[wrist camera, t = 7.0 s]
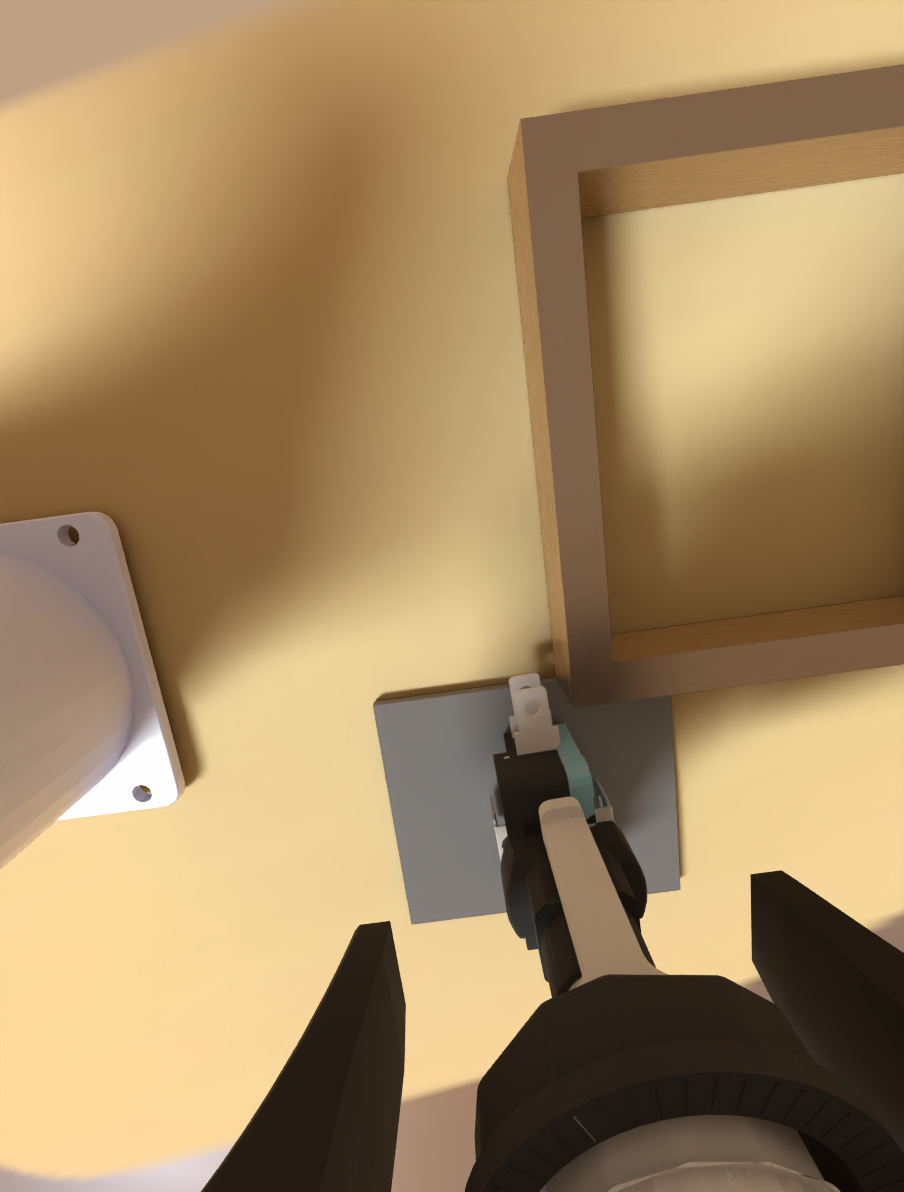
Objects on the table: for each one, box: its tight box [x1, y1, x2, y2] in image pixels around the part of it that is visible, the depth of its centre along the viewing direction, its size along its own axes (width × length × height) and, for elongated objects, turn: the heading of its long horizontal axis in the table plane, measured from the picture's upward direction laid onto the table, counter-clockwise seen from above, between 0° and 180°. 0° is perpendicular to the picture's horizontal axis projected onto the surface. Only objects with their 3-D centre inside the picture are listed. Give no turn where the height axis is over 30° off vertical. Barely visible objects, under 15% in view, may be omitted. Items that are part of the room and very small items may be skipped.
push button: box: [465, 672, 904, 1192], centre depth 10 cm, size 7×5×10 cm
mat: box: [373, 677, 680, 924], centre depth 15 cm, size 8×7×1 cm
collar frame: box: [508, 65, 904, 708], centre depth 12 cm, size 11×12×2 cm
